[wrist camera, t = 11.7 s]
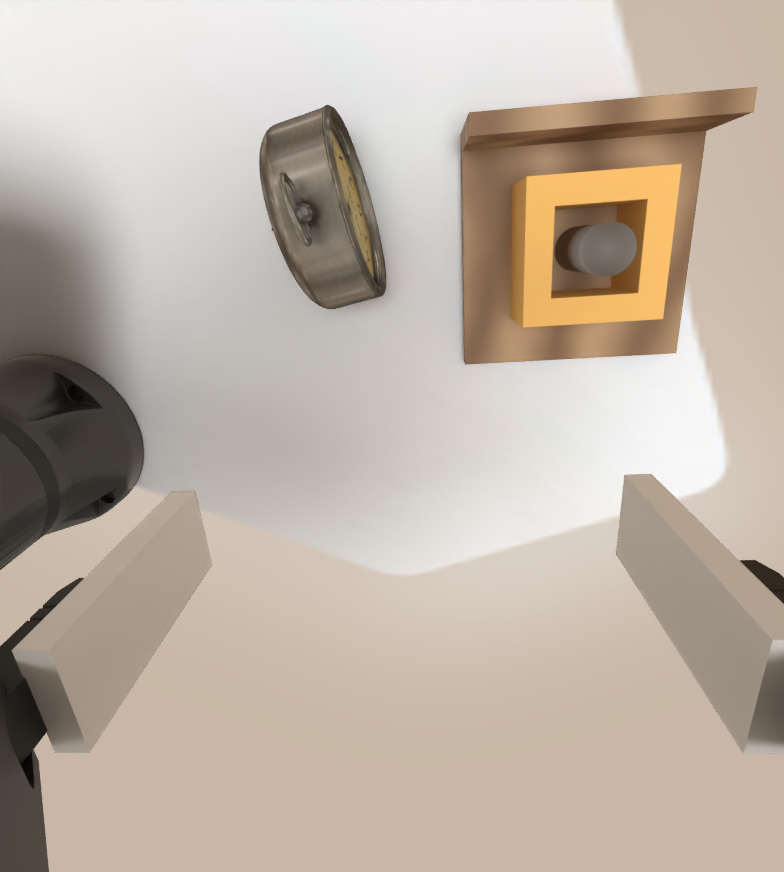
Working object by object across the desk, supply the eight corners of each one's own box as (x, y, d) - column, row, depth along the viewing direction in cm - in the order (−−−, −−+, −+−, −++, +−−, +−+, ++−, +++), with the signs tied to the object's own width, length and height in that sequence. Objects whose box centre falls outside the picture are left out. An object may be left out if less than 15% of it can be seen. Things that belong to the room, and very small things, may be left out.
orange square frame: (510, 317, 38) (522, 327, 33) (512, 185, 35) (526, 176, 30) (632, 309, 37) (663, 319, 33) (645, 175, 34) (681, 163, 29)
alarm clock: (394, 286, 39) (378, 311, 24) (328, 304, 39) (271, 340, 24) (354, 129, 35) (304, 40, 20) (282, 152, 36) (182, 84, 21)
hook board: (464, 361, 40) (474, 387, 33) (460, 134, 35) (472, 103, 27) (668, 350, 39) (729, 375, 32) (699, 114, 34) (781, 75, 26)
